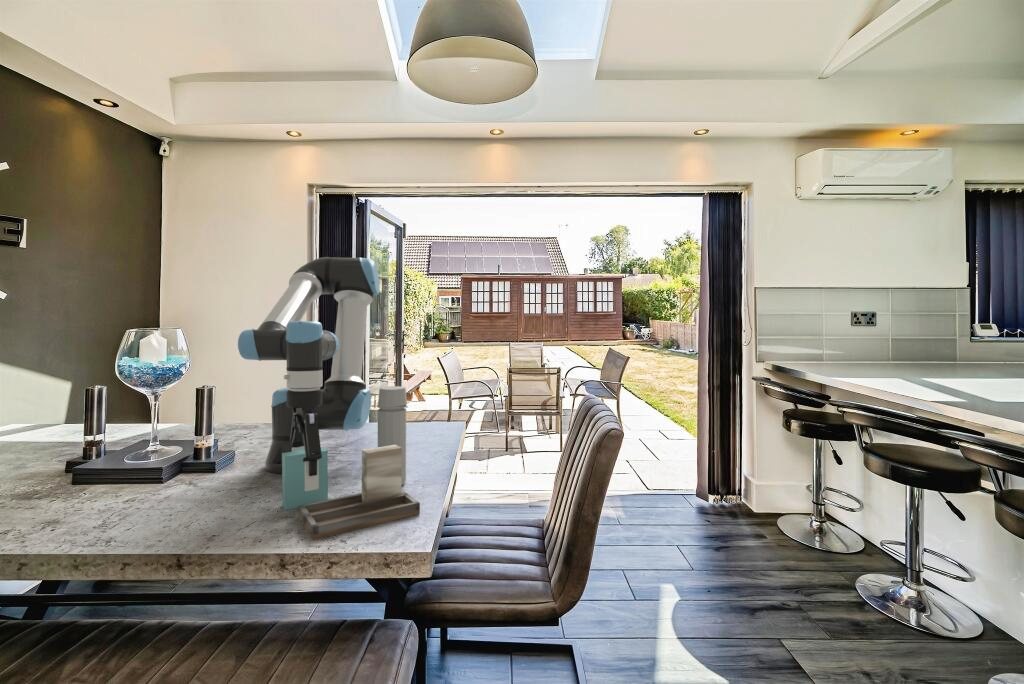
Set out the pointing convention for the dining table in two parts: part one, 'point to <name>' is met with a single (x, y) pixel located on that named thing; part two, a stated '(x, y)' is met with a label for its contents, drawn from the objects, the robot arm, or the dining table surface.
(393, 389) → the water bottle
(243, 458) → the dining table surface
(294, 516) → the dining table surface
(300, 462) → the teal door
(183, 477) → the dining table surface
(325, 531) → the track base
